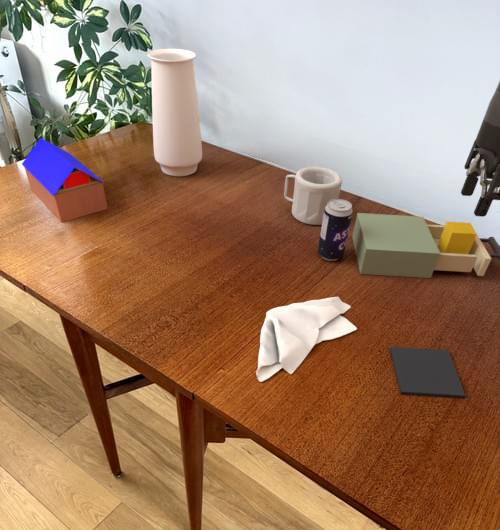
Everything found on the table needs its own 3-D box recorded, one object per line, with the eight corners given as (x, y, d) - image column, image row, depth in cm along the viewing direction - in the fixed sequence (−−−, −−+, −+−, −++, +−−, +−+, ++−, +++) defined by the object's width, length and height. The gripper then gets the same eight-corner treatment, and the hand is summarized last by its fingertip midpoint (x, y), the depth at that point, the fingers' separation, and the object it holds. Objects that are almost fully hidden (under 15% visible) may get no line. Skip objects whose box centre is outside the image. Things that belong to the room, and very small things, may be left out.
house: (60, 223, 105) (47, 173, 97) (29, 189, 116) (15, 143, 109) (109, 208, 111) (100, 161, 103) (75, 178, 122) (65, 133, 114)
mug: (341, 211, 115) (348, 172, 108) (326, 230, 108) (333, 190, 101) (291, 197, 119) (295, 159, 112) (273, 215, 112) (277, 175, 105)
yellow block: (460, 247, 101) (470, 222, 97) (466, 258, 98) (477, 234, 94) (437, 245, 101) (446, 221, 97) (442, 257, 98) (452, 232, 94)
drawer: (484, 242, 105) (491, 225, 102) (505, 277, 95) (514, 260, 92) (405, 237, 105) (410, 220, 102) (417, 272, 95) (424, 254, 92)
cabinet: (415, 240, 106) (423, 216, 102) (430, 278, 96) (440, 253, 91) (352, 236, 106) (357, 212, 102) (360, 274, 96) (366, 248, 91)
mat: (447, 352, 80) (448, 350, 79) (464, 398, 72) (465, 395, 72) (389, 349, 80) (390, 346, 79) (400, 394, 72) (401, 391, 72)
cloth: (319, 285, 92) (320, 276, 91) (373, 322, 85) (376, 312, 83) (214, 341, 79) (214, 331, 78) (267, 390, 72) (268, 380, 70)
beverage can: (329, 265, 97) (339, 214, 89) (311, 253, 101) (319, 202, 92) (348, 257, 100) (360, 206, 92) (330, 245, 103) (340, 195, 95)
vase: (206, 177, 126) (203, 60, 107) (157, 180, 123) (146, 61, 104) (198, 158, 135) (195, 47, 116) (153, 160, 132) (142, 47, 113)
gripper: (545, 136, 76) (503, 224, 87) (513, 107, 86) (479, 189, 97) (499, 133, 76) (463, 221, 87) (473, 105, 86) (444, 187, 97)
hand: (472, 204), depth 92 cm, fingers open, 8 cm apart
